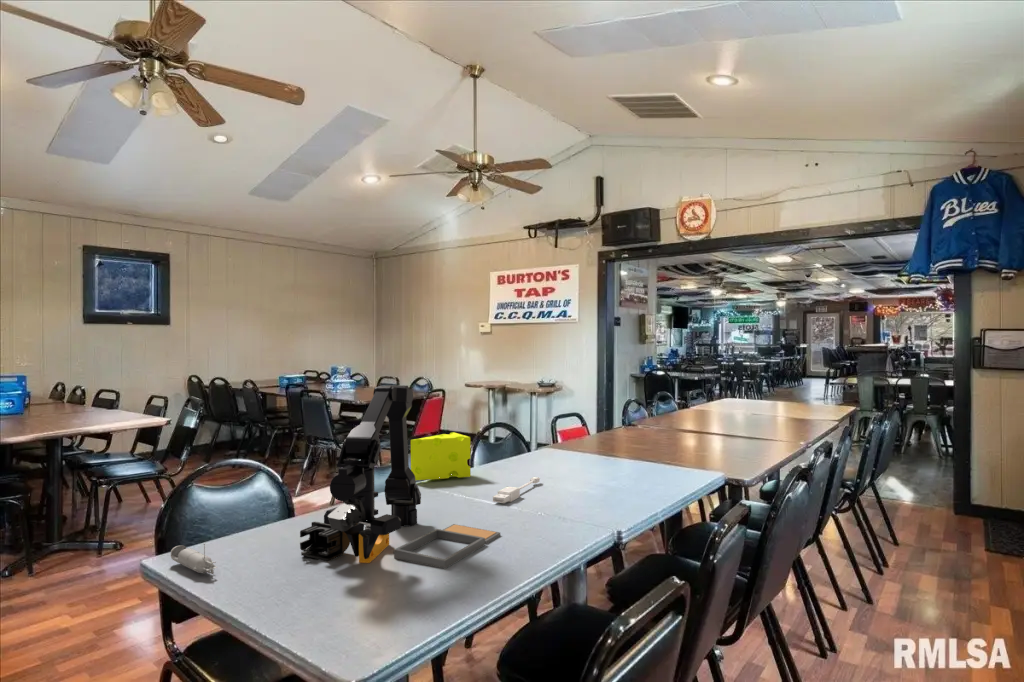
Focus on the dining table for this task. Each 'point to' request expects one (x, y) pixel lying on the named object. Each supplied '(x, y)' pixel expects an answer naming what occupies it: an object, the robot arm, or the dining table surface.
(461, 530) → the lid
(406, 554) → the gray rectangular frame
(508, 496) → the charging cable
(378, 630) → the dining table surface
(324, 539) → the end cap
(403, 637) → the dining table surface
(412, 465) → the cheese wedge
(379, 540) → the pipe clamp
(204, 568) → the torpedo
